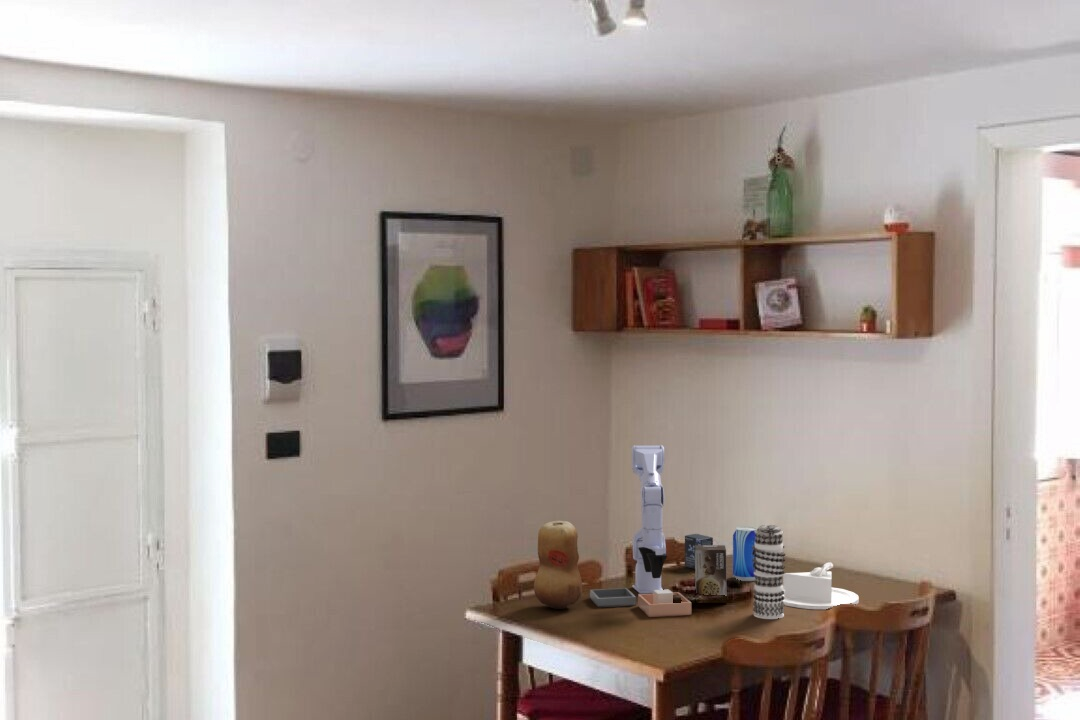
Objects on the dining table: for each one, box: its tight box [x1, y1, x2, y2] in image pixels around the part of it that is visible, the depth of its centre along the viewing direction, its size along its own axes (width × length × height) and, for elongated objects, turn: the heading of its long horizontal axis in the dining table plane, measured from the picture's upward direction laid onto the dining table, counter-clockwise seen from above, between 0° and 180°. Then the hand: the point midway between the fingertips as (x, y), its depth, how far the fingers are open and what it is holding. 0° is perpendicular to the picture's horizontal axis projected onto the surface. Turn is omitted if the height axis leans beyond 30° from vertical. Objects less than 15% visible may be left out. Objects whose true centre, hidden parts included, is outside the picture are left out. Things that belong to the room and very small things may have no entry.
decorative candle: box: [752, 524, 786, 620], centre depth 347 cm, size 9×9×25 cm
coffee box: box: [694, 544, 728, 596], centre depth 363 cm, size 9×6×16 cm
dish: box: [782, 561, 860, 610], centre depth 365 cm, size 25×25×11 cm
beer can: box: [732, 525, 758, 582], centre depth 392 cm, size 8×8×16 cm
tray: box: [589, 587, 637, 608], centre depth 364 cm, size 11×11×2 cm
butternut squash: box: [533, 520, 583, 610], centre depth 357 cm, size 14×13×25 cm
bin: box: [637, 591, 692, 618], centre depth 353 cm, size 12×12×4 cm
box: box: [684, 533, 714, 570], centre depth 408 cm, size 8×6×11 cm
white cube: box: [652, 588, 674, 604], centre depth 353 cm, size 4×4×5 cm
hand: (652, 574), depth 358 cm, fingers open, 7 cm apart
